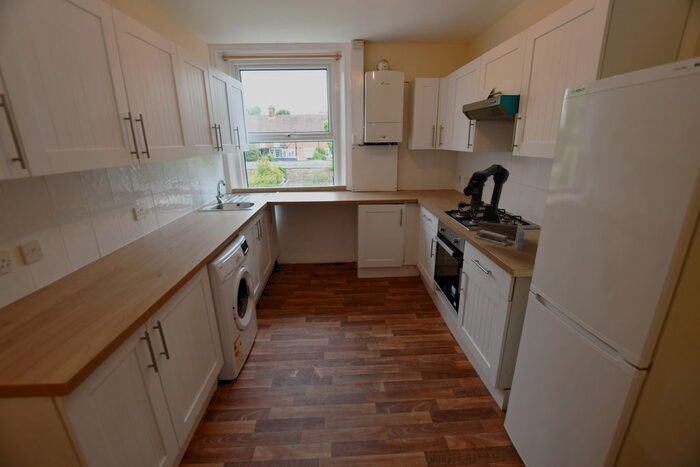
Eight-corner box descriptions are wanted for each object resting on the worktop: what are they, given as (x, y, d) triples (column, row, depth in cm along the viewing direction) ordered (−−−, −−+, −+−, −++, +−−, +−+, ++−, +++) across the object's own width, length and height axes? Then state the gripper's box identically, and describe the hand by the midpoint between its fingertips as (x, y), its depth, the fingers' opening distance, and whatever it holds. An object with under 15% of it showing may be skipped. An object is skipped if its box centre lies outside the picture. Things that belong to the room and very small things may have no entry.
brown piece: (476, 233, 192) (479, 218, 189) (518, 238, 183) (521, 223, 180) (475, 244, 174) (477, 227, 171) (521, 250, 165) (524, 233, 162)
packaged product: (475, 231, 183) (483, 228, 189) (474, 238, 184) (482, 235, 190) (505, 238, 170) (513, 235, 176) (503, 246, 171) (511, 243, 177)
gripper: (458, 195, 171) (455, 221, 176) (494, 198, 163) (490, 225, 169) (460, 192, 180) (457, 217, 185) (494, 194, 173) (490, 220, 178)
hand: (473, 220), depth 179 cm, fingers closed
